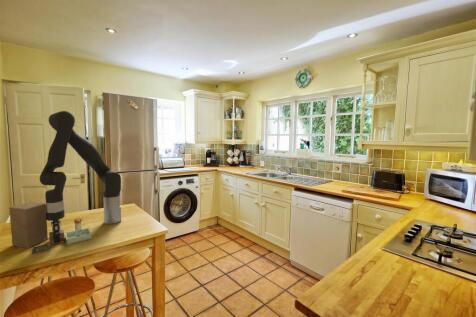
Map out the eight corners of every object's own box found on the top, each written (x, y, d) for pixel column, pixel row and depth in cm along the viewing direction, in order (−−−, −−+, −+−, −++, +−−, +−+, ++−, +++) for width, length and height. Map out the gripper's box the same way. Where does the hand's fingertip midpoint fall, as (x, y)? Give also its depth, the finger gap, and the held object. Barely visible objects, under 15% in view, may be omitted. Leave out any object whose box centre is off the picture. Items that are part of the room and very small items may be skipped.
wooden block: (27, 248, 111) (24, 209, 108) (11, 245, 113) (8, 207, 110) (48, 239, 120) (46, 203, 118) (33, 236, 122) (30, 201, 120)
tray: (89, 232, 130) (88, 227, 129) (91, 239, 122) (91, 233, 122) (65, 237, 123) (64, 232, 122) (66, 245, 115) (66, 239, 115)
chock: (63, 238, 122) (63, 229, 122) (64, 241, 119) (63, 232, 118) (49, 241, 118) (48, 232, 118) (49, 244, 115) (49, 235, 114)
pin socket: (50, 244, 115) (49, 243, 115) (50, 249, 110) (50, 248, 110) (33, 248, 111) (33, 247, 111) (33, 253, 106) (33, 252, 106)
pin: (82, 235, 125) (81, 218, 124) (82, 237, 122) (82, 220, 121) (74, 237, 123) (73, 219, 121) (75, 239, 120) (74, 221, 119)
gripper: (45, 207, 119) (47, 237, 121) (45, 215, 109) (47, 248, 111) (63, 204, 124) (64, 234, 126) (65, 212, 114) (66, 244, 115)
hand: (56, 240), depth 118 cm, fingers closed on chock, 4 cm apart
